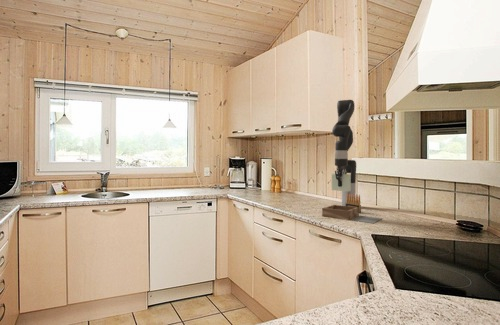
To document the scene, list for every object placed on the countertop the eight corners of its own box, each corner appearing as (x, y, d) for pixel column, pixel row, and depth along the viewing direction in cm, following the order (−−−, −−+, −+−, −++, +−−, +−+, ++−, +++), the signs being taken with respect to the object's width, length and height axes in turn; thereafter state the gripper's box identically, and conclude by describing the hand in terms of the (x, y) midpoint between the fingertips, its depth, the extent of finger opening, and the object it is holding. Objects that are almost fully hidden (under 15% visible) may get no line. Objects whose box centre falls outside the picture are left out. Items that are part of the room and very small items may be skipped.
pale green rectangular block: (333, 189, 203) (333, 173, 202) (350, 191, 196) (350, 174, 196) (331, 190, 201) (331, 173, 200) (348, 191, 194) (349, 174, 194)
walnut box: (333, 212, 210) (333, 204, 210) (358, 215, 200) (358, 207, 200) (322, 216, 198) (322, 208, 198) (348, 219, 187) (348, 211, 187)
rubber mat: (360, 216, 199) (360, 215, 199) (382, 218, 191) (382, 218, 191) (350, 220, 186) (350, 219, 186) (373, 223, 178) (373, 223, 178)
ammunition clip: (361, 213, 208) (361, 194, 208) (359, 213, 207) (359, 194, 207) (347, 210, 217) (347, 192, 216) (345, 211, 216) (345, 192, 215)
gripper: (340, 157, 205) (339, 184, 206) (330, 158, 194) (330, 187, 195) (351, 157, 201) (351, 185, 201) (342, 158, 190) (342, 187, 191)
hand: (341, 186), depth 198 cm, fingers closed on pale green rectangular block, 2 cm apart
